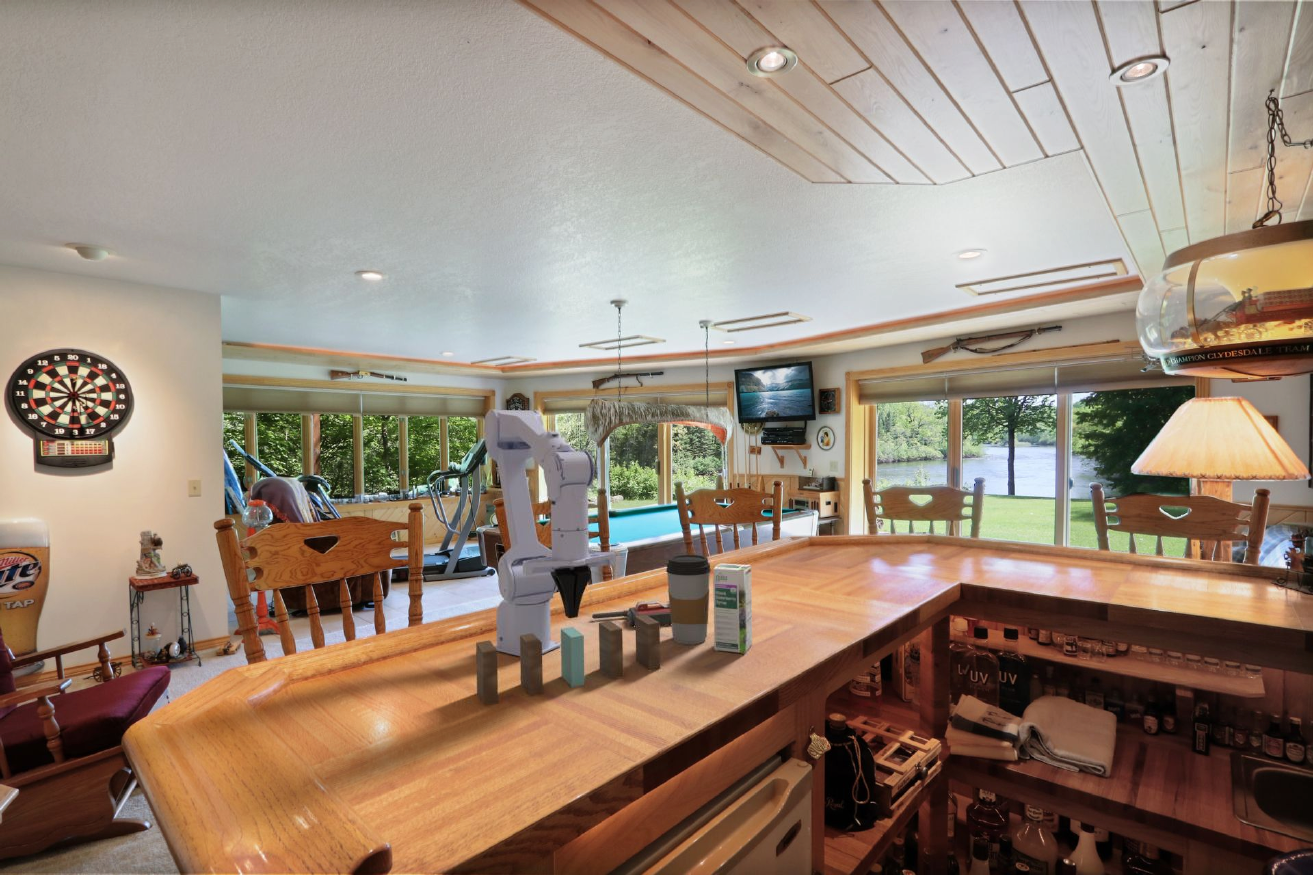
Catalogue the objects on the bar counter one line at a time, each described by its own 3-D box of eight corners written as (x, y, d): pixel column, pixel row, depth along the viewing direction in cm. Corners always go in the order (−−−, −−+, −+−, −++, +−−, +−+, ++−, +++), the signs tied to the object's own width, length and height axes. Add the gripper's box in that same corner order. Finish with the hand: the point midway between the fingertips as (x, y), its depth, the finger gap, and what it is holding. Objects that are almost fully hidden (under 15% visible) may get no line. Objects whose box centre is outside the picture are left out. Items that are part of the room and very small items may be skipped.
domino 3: (571, 687, 91) (571, 637, 91) (561, 676, 96) (560, 628, 96) (584, 684, 92) (583, 635, 92) (573, 673, 97) (572, 626, 97)
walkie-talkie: (683, 613, 131) (591, 621, 126) (683, 592, 131) (591, 600, 126) (695, 624, 122) (597, 634, 118) (695, 602, 123) (596, 611, 118)
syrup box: (713, 650, 106) (711, 567, 106) (722, 640, 111) (721, 561, 111) (745, 654, 104) (743, 569, 104) (753, 643, 109) (751, 563, 109)
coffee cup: (709, 647, 107) (707, 563, 108) (663, 645, 109) (661, 562, 109) (714, 633, 116) (713, 554, 116) (671, 631, 117) (670, 553, 117)
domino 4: (611, 679, 94) (610, 630, 94) (599, 668, 99) (598, 622, 99) (623, 676, 95) (622, 628, 95) (611, 666, 99) (610, 620, 100)
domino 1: (483, 705, 85) (482, 652, 85) (477, 693, 90) (476, 642, 90) (498, 702, 86) (497, 650, 86) (490, 690, 91) (489, 640, 91)
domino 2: (529, 696, 88) (528, 644, 88) (520, 684, 93) (519, 635, 93) (542, 693, 89) (541, 642, 89) (533, 681, 94) (532, 633, 94)
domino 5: (649, 671, 97) (648, 624, 97) (636, 661, 102) (635, 616, 102) (660, 668, 98) (659, 622, 98) (646, 659, 102) (645, 614, 103)
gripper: (530, 536, 87) (532, 630, 87) (623, 527, 94) (624, 615, 94) (518, 530, 94) (520, 618, 93) (605, 522, 100) (607, 605, 100)
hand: (571, 616), depth 94 cm, fingers closed
